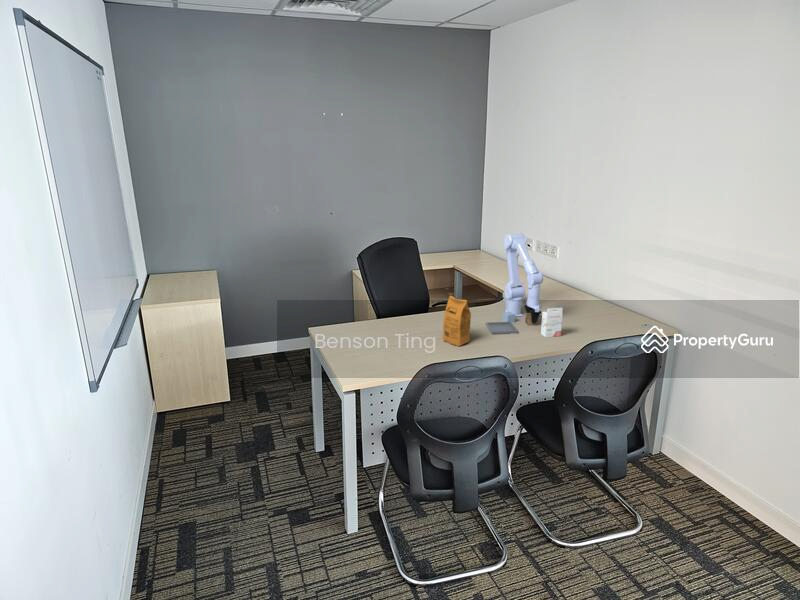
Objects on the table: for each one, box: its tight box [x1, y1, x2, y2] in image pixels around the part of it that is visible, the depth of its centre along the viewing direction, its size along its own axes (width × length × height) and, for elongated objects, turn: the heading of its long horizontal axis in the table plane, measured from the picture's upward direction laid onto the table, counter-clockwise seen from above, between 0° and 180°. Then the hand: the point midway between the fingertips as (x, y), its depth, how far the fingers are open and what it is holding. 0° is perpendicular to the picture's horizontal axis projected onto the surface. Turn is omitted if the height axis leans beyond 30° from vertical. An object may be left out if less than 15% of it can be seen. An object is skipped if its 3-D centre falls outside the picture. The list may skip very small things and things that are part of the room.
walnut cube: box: [524, 313, 539, 326], centre depth 274 cm, size 5×5×5 cm
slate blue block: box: [502, 312, 516, 323], centre depth 277 cm, size 4×4×4 cm
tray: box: [485, 321, 519, 335], centre depth 266 cm, size 13×13×2 cm
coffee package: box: [442, 295, 472, 347], centre depth 247 cm, size 10×12×22 cm
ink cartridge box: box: [540, 307, 564, 338], centre depth 256 cm, size 9×5×15 cm, turn 101°
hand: (531, 320), depth 274 cm, fingers open, 7 cm apart
